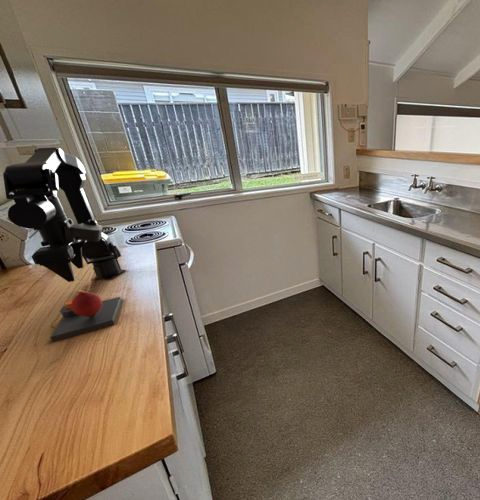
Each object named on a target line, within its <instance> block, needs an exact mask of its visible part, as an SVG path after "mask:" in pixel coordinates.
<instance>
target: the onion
mask: <svg viewBox="0 0 480 500" xmlns="http://www.w3.org/2000/svg"><path fill="white" fill-rule="evenodd" d="M76 293H77V294H76V295H75V296H74V298H73V299H72V300H73V301H72V303H71V308H72V311H73V312H74V313H75V314H77V315H80V316H85V317H93V316H95V315H96V314H97V313H98V312H99V310H100V309H101V307H102V301H103V300H102V298H101V297H100V296H99V295H98V294H96V293H94V292H92V291H84V290H81V289H79V290H77V291H76Z"/></svg>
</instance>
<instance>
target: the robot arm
mask: <svg viewBox="0 0 480 500" xmlns="http://www.w3.org/2000/svg"><path fill="white" fill-rule="evenodd" d="M2 176H3V184H4V190H5V192H4V193H5V198H6V199H7V200H13V202H14V204H13V205H11V206H10V207H9V208H8V211H7V218H8V219H9V221H10V222H11V223H12V224H13V225H15V226H17V227H19V228H23V229H28V230H29V229H33V230H34V231H38V233H39V234H40V237H41V239H42V241H40V245H41V246H42V247H39V248H38V249H37V250H35V252H33V254H32V255H31V259H32V261H33V263H34V264H35V265H39V266H41V267H42V266H43V267H44V268H46V269H47V270H49V271H51V272H52V273H54V274H56V275H57V276H58V277H60V278H62V279H63V280H65V281H67V282H68V283H72V282H75V276H74V275H75V274H74V271H73V266H74V267H76V269H78V270H79V269H84V261H85V263H86V264H87V265H90V264H92V266H93V267H92V269H93V272H94V275H95V276H94V279H95V280H112V279H113V278H116V277H117V276H119V275H121V274H123V273H125V272H126V269H122V268H121V265H120V263H119V260H118V259H119V258H121V257H122V254H121V252H120V250H119V248H118V246H117V245H116V244H115V243H114V242H112V241H111V238H110V237H109V236H108V235H107V234H106V233H104V232H102V231H103V226H102V224H99V222H98V221H97V220H96V217H95V214H94V212H93V209H92V208H91V205H90V203H89V200H88V198H87V195H86V192H85V190H84V185H85V183H86V179H87V178H86V169H85V167H84V165H83V163H82V161H80V159H78V156H75V155H73V154H70V153H68V152H65V151H63V149H61V148H60V147H56V146H55V147H52V146H51V147H38V148H35V149H34V153H33V154H32V155H31V156H30V157H29V158H28V159H27V160H26V161H25V162H22V163H21V162H20V163H15V164H9V165H7V166H6V167H5V169H4V171H3V173H2ZM60 190H62V192H63V193H64V195H65V197H66V200H67V202H68V204H69V206H70V209H71V212H72V214H73V216H74V218H75V220H76V223H75V222H74V220H73V219H72V218H71V217H68V216H67V215H66V212H65V210H64V208H63V205H62V203H61V201H60V198H59V196H58V191H60ZM72 265H73V266H72Z"/></svg>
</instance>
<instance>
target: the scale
mask: <svg viewBox="0 0 480 500" xmlns="http://www.w3.org/2000/svg"><path fill="white" fill-rule="evenodd" d="M122 302H123V299H122V296H116V297H113V298H109V299H105V300H102V307H101V309H100V310H99V312H98V313H97V314H96V315H95V316H93V317H85V316H80V315H77V314H75V313H74V312H73V311H72V309H68V308H67V306H66V305H64V306H62V307H61V308H60V310H59V312H60V314H61V316H62V318H61V319H60V321H59V322H58V323H57V325H56V327H55V329H54V330H53V332H52V333H51V335H50V337H49V338H50V340H51V342H52V343H53V342H55V341H60V340H63V339H67V338H70V337H74V336H78V335H81V334H85V333H88V332H92V331H96V330H99V329H104V328H106V327H109V326H113V325H115V324H116V321H117V318H118V315H119V312H120V308H121V306H122Z"/></svg>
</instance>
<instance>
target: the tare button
mask: <svg viewBox="0 0 480 500" xmlns="http://www.w3.org/2000/svg"><path fill="white" fill-rule="evenodd" d="M72 301H73V299H69V300H68V301H66V302H65V306H67V308H68V309H72V308H71V303H72Z"/></svg>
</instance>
